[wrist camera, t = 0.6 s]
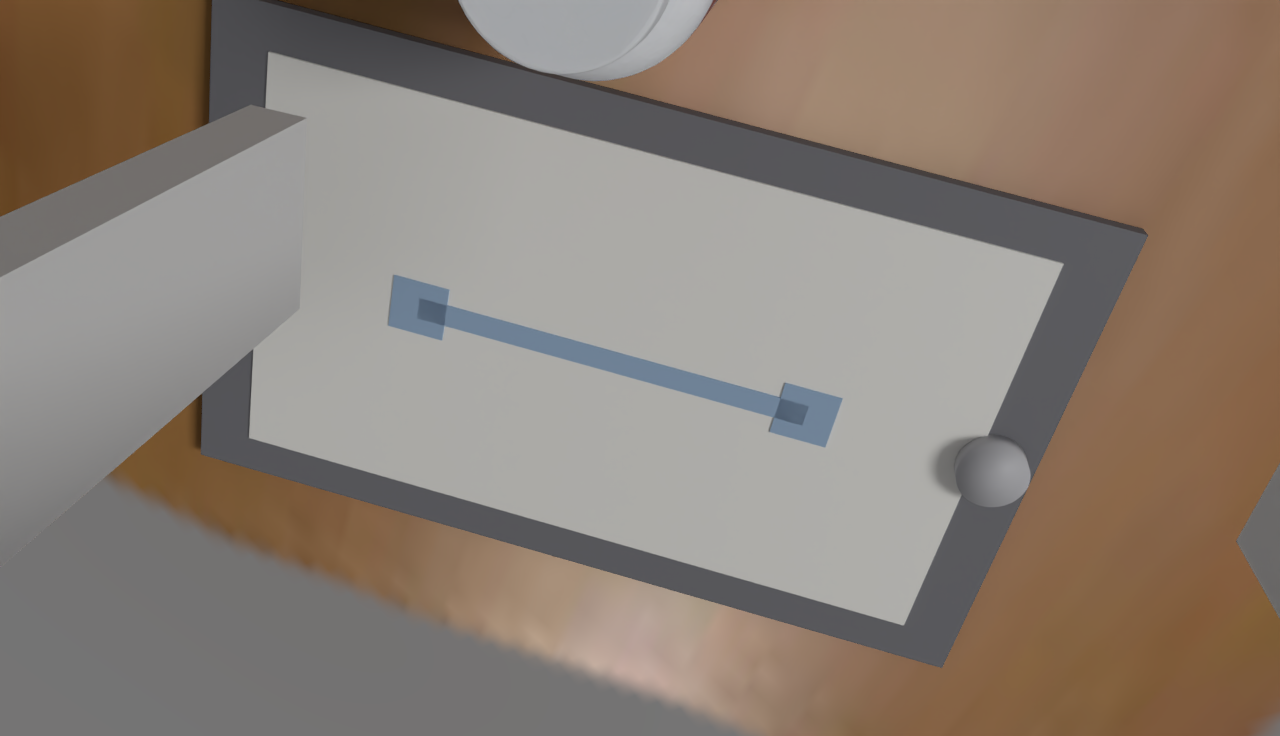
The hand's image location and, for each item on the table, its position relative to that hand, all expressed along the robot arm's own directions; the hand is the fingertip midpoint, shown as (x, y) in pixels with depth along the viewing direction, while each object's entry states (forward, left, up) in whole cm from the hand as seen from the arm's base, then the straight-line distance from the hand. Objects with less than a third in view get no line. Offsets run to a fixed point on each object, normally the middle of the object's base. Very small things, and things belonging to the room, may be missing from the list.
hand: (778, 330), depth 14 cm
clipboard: (+12, -4, -21) cm, 24 cm away
